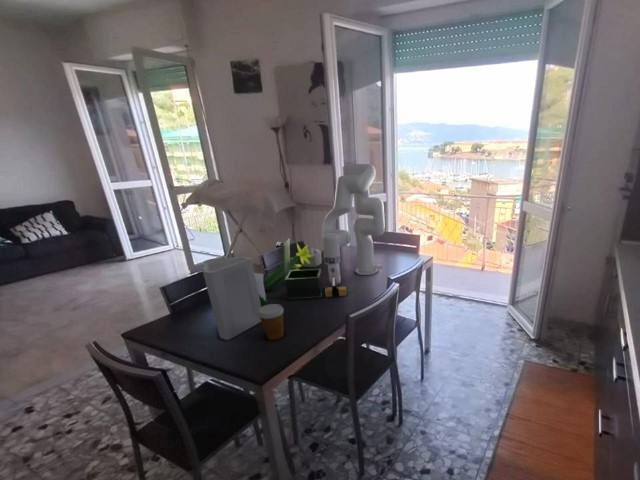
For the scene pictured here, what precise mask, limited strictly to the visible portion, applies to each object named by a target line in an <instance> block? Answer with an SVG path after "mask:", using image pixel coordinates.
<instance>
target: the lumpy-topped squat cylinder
mask: <svg viewBox="0 0 640 480" xmlns="http://www.w3.org/2000/svg"><path fill="white" fill-rule="evenodd" d="M307 251H308V254H311V255H313V257H307V259H308V260H309V262H310V263H311V264H309V263H307V262H306V261H305V260H304V263H303V264H302V263H301V265H302V267H309V268H314V267H315V268H316V267H319V266H320V265H321V264H322V263H323V262H322V261H323V260H322V252H321V250H320V249H317V248H310V249H307Z"/></svg>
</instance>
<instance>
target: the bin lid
mask: <svg viewBox="0 0 640 480" xmlns="http://www.w3.org/2000/svg"><path fill="white" fill-rule="evenodd" d="M290 245H291V243H290V237H287V238H286V240H285V241H284V242H281V241H278V242H277V243H276V244H275V248H276V249H279V248H282V257H283V258H282V259H283V260H282V261H284V263H283V265H284V278H286V277H287V275H288V273H289V271H290V260H291V249H290V248H291V246H290ZM284 278H283V279H284Z"/></svg>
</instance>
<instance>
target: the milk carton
mask: <svg viewBox="0 0 640 480" xmlns="http://www.w3.org/2000/svg"><path fill="white" fill-rule="evenodd" d="M254 273H255V278H256V283H257V288H258V293H259V298H260V303H261V307H263V306H265V305H269V304H268V301H267V296H266V291H265V288H264V286H265V284H264V285H263V280H264V273H258V272H254Z"/></svg>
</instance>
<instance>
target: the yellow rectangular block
mask: <svg viewBox="0 0 640 480" xmlns="http://www.w3.org/2000/svg"><path fill="white" fill-rule="evenodd" d="M338 290H339V296H338V297H343V296H344V297H346V296H347V286H339V287H338ZM324 294H325V295H324V296H325V297H326V298H329V297H333V296H332V286H331V287H330V286H328V287H325V289H324Z"/></svg>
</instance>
